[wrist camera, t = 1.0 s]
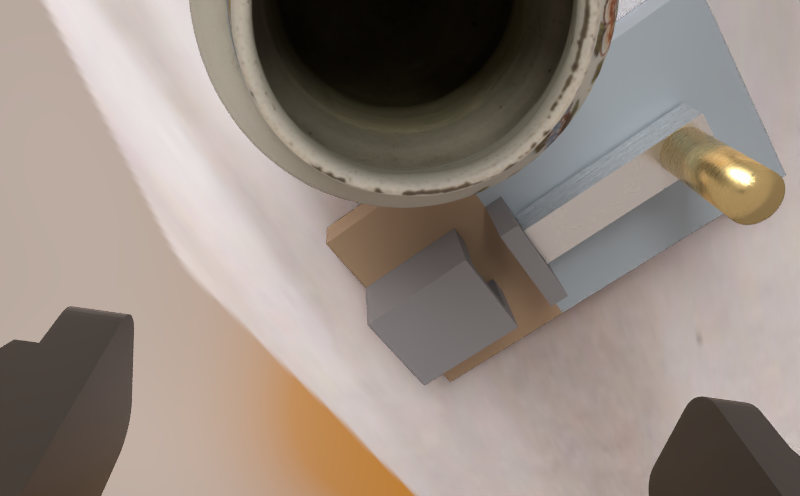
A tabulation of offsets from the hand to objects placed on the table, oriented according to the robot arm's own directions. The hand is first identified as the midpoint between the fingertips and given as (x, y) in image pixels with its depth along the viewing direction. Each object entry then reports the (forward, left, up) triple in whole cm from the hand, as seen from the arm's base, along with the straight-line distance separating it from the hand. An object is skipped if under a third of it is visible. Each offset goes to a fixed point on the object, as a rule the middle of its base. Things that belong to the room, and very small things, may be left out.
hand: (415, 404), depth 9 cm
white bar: (-7, +12, -23) cm, 27 cm away
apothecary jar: (-3, -3, -26) cm, 26 cm away
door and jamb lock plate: (-4, +12, -26) cm, 29 cm away
